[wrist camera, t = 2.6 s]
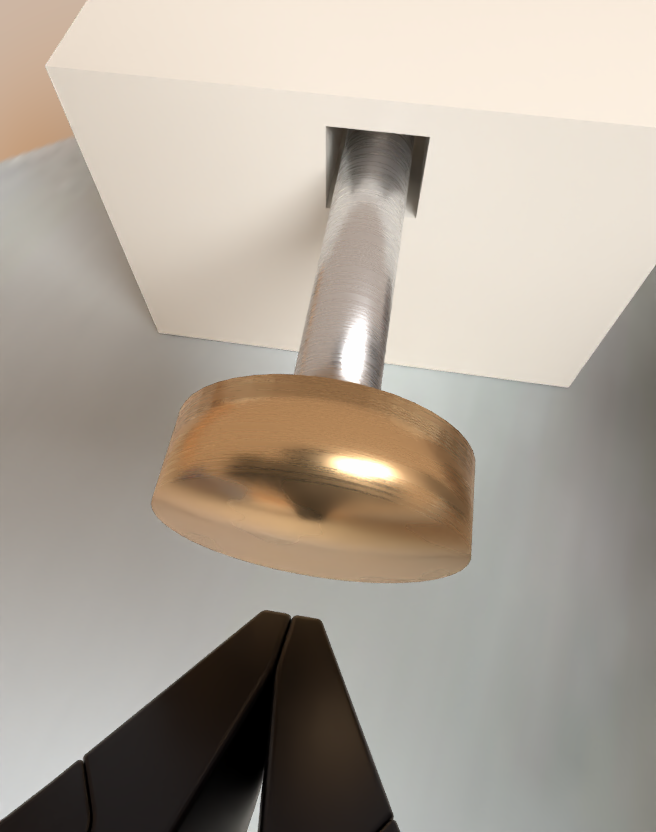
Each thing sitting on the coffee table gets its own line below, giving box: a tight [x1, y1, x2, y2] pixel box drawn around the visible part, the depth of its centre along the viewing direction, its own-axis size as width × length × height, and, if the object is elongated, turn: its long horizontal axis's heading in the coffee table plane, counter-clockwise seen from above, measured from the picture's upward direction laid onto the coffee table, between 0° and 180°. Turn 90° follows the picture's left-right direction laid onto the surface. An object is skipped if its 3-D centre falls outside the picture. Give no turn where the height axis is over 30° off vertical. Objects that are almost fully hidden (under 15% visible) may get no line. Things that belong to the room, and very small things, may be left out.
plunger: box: [151, 128, 475, 583], centre depth 12 cm, size 11×5×5 cm, turn 171°
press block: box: [45, 0, 656, 388], centre depth 18 cm, size 8×14×9 cm, turn 81°
